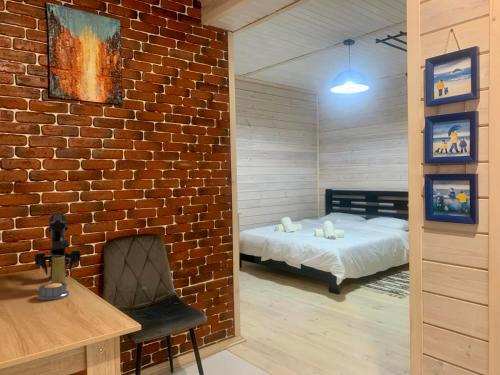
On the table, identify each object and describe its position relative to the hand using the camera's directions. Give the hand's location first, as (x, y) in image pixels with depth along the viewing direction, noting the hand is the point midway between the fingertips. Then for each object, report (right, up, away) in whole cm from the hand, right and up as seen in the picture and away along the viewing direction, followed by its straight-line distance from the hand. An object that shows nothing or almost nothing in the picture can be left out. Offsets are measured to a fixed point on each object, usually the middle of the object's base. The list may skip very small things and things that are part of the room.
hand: (58, 273), depth 171 cm
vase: (-1, -7, +1) cm, 7 cm away
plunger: (+3, -4, -10) cm, 12 cm away
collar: (+3, -7, -10) cm, 13 cm away
